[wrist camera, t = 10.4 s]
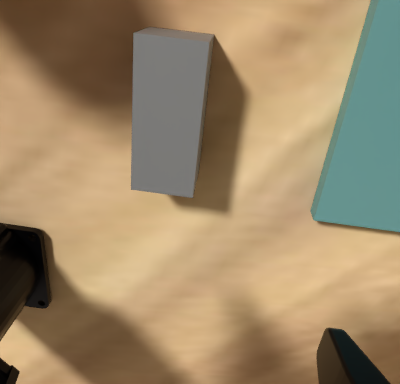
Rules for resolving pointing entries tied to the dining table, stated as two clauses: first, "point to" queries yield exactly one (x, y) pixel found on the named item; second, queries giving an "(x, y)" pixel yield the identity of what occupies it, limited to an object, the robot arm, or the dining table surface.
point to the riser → (168, 108)
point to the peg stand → (367, 132)
